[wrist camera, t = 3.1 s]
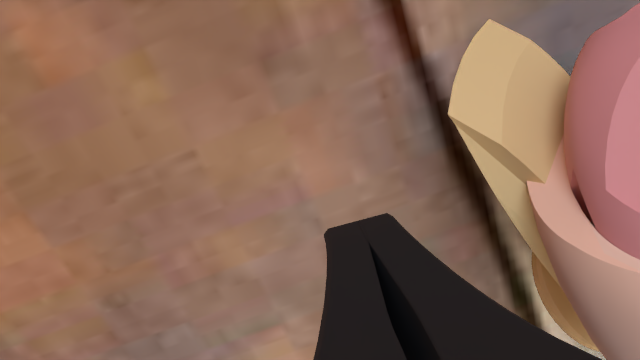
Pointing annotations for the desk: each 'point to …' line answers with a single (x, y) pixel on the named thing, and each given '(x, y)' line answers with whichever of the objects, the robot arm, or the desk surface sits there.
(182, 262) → the desk surface
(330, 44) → the desk surface
